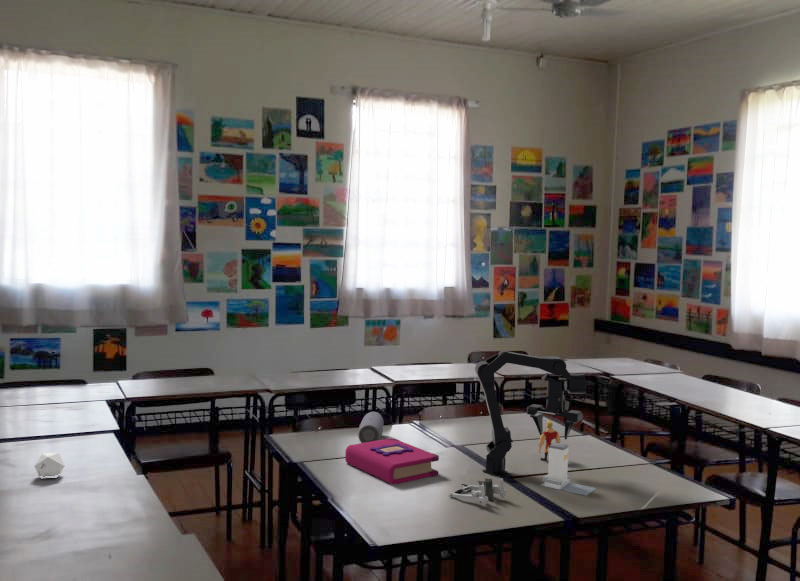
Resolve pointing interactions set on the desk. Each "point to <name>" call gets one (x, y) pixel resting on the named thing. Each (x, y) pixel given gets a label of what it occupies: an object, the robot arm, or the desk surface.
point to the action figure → (548, 438)
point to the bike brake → (481, 491)
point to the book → (392, 460)
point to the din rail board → (567, 486)
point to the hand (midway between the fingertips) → (553, 437)
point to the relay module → (558, 462)
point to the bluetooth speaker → (371, 427)
